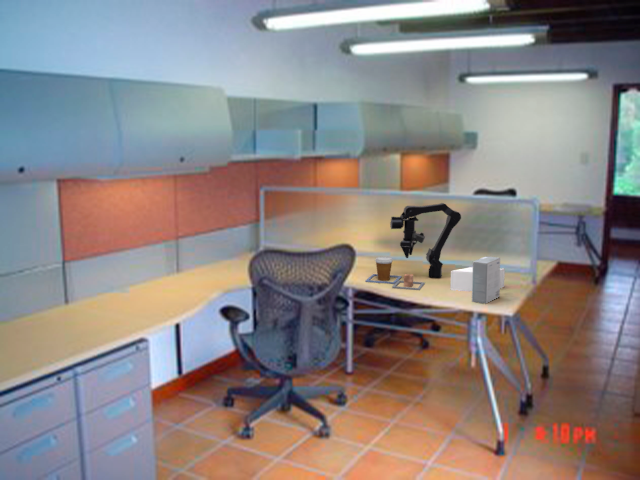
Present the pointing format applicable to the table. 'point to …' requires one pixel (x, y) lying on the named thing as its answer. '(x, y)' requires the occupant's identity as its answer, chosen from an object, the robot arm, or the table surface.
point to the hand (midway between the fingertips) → (408, 256)
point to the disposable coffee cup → (383, 268)
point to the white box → (468, 279)
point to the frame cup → (382, 281)
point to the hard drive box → (486, 279)
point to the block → (408, 280)
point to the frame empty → (408, 287)
